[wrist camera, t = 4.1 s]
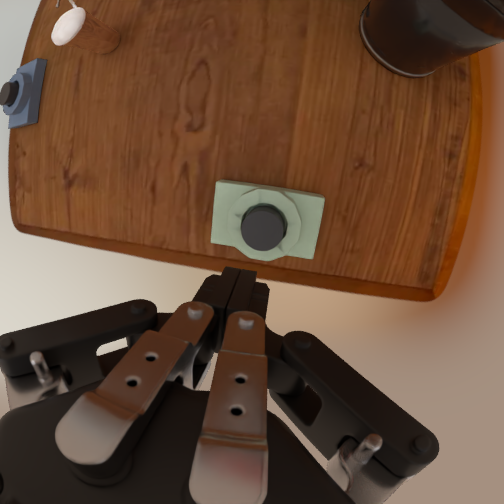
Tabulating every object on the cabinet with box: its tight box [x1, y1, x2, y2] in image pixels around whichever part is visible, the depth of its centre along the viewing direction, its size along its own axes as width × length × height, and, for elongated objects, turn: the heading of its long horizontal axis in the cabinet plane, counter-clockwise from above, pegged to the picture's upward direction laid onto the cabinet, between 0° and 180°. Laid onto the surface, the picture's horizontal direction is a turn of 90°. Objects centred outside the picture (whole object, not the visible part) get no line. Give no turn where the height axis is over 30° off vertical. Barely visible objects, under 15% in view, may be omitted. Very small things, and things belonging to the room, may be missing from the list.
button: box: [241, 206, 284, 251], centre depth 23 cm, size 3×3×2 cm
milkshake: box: [52, 0, 120, 54], centre depth 17 cm, size 4×5×10 cm
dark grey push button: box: [0, 82, 19, 105], centre depth 20 cm, size 3×3×2 cm
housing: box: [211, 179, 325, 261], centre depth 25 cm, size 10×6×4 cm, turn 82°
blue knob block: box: [3, 58, 47, 129], centre depth 23 cm, size 10×6×4 cm, turn 174°
